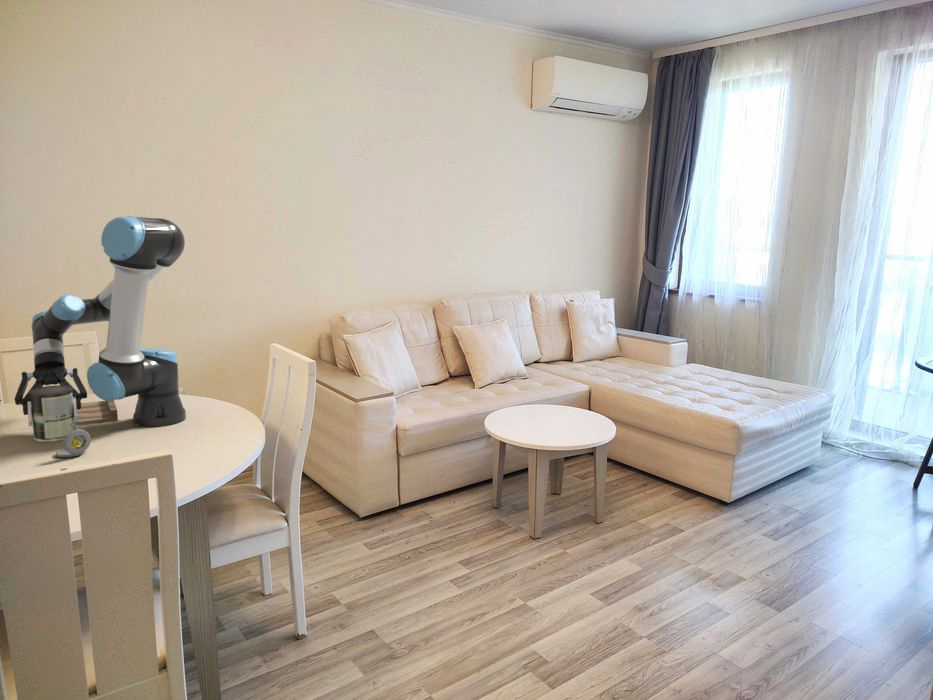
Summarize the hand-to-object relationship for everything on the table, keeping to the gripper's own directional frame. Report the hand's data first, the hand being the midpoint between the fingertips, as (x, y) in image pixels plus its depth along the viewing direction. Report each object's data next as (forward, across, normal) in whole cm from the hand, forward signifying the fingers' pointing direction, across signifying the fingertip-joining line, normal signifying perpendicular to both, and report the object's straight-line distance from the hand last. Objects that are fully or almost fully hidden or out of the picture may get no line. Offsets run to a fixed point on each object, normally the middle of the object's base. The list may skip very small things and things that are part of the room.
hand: (53, 420), depth 172 cm
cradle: (-13, -8, -21) cm, 26 cm away
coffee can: (+2, 0, -6) cm, 6 cm away
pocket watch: (+16, -4, +8) cm, 18 cm away
